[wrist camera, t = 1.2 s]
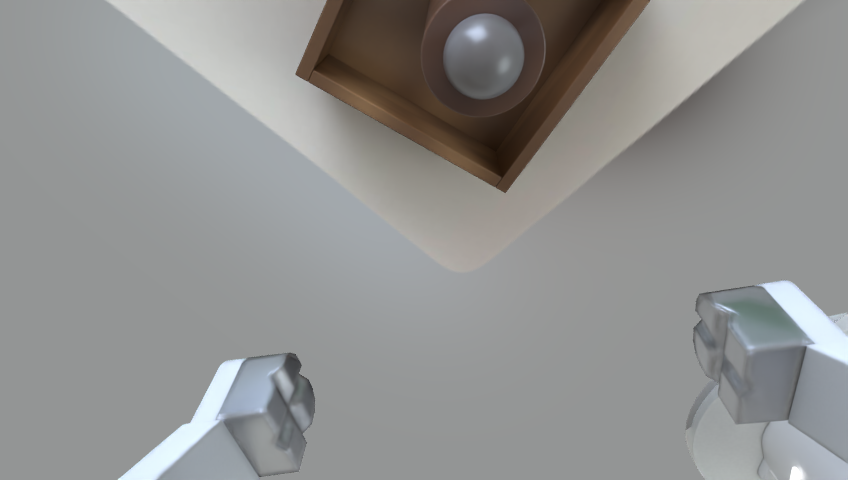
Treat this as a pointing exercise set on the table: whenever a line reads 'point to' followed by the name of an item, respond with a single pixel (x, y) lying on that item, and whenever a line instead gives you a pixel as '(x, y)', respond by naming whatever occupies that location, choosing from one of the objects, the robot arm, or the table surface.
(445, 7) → the pepper mill
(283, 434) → the robot arm
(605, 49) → the wooden tray
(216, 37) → the table surface
